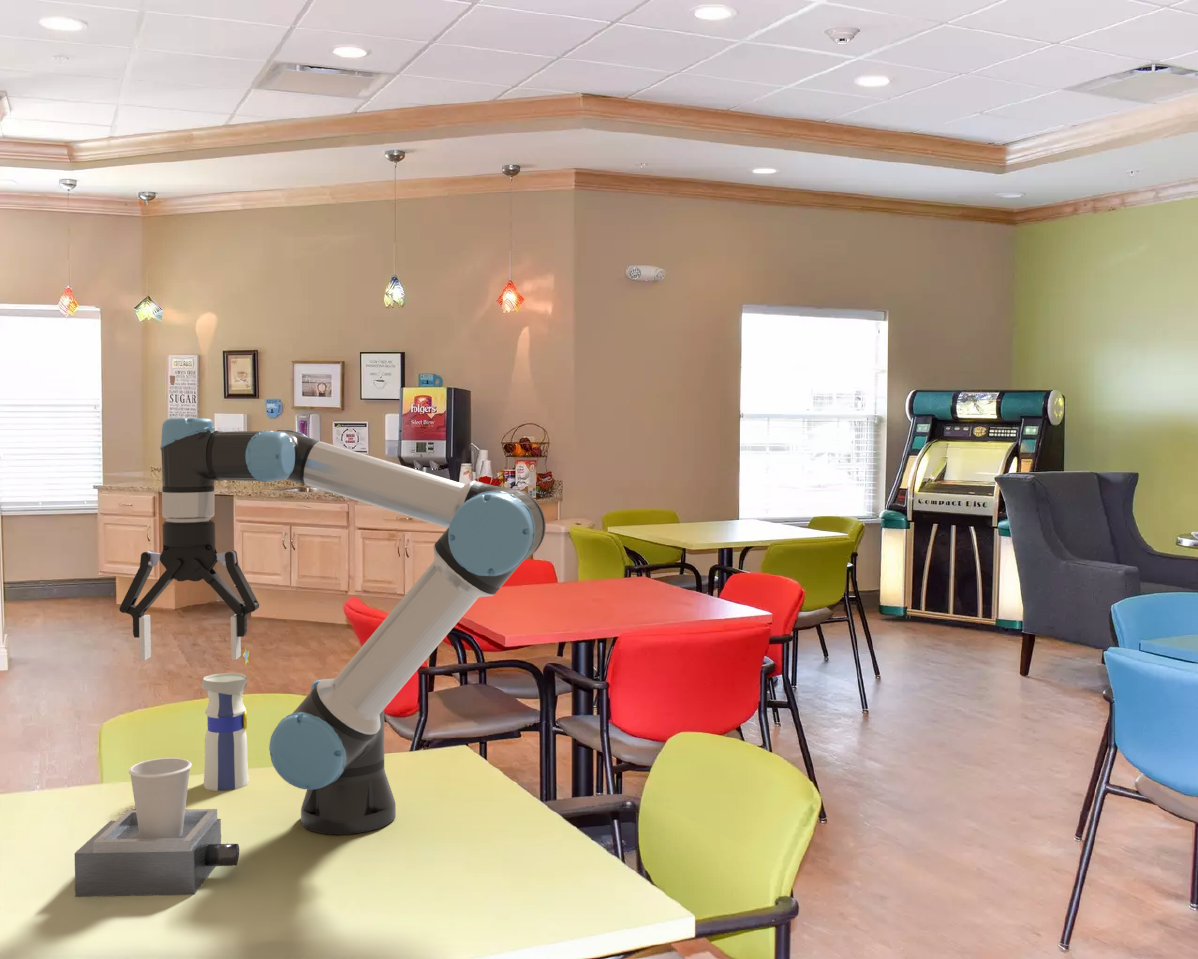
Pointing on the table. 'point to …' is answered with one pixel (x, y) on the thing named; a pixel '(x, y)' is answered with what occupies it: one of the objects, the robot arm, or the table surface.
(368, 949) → the table surface
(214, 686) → the white blue vase
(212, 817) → the block
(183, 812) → the dixie cup
